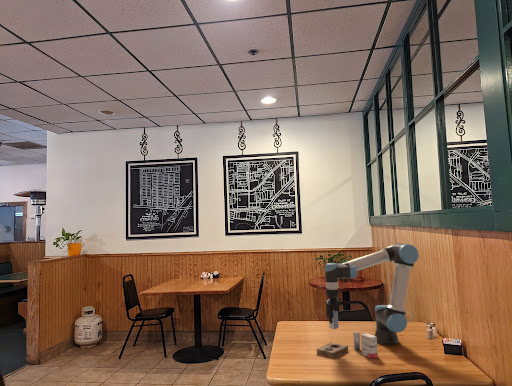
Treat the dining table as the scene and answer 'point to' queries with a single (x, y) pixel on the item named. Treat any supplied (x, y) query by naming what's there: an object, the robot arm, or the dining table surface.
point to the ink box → (369, 345)
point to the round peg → (356, 340)
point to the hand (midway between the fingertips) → (333, 327)
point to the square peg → (335, 319)
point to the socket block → (332, 350)
